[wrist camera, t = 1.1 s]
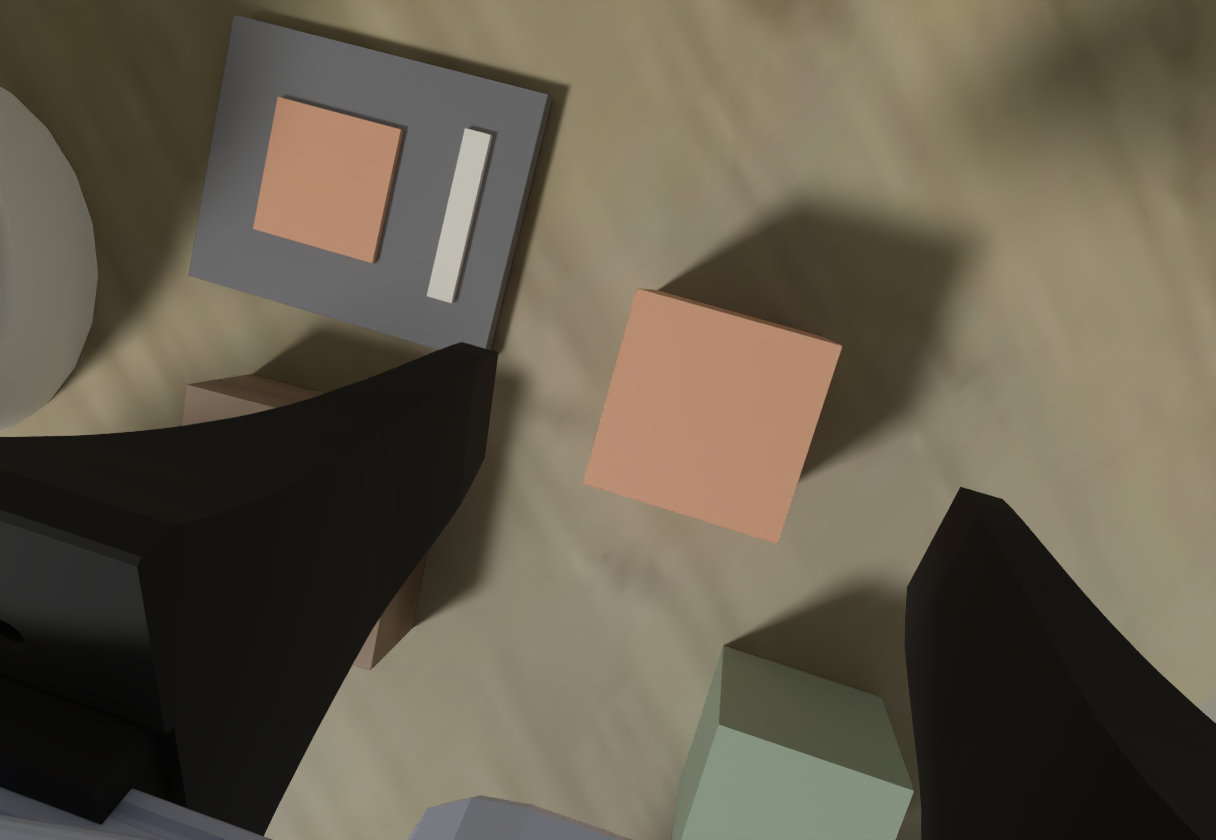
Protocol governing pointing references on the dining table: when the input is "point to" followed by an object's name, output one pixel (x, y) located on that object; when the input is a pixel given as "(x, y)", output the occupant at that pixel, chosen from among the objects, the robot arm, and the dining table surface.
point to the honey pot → (40, 265)
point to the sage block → (790, 760)
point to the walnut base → (267, 394)
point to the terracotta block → (711, 413)
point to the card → (366, 185)
